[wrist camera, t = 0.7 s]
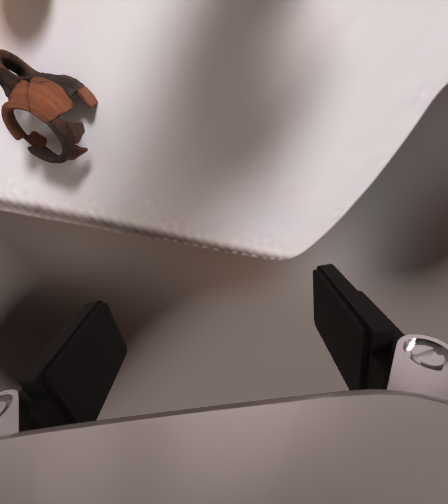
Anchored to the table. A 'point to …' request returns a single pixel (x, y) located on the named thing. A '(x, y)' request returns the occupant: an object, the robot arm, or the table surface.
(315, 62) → the table surface
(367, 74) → the table surface
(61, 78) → the pottery mug
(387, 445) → the robot arm
